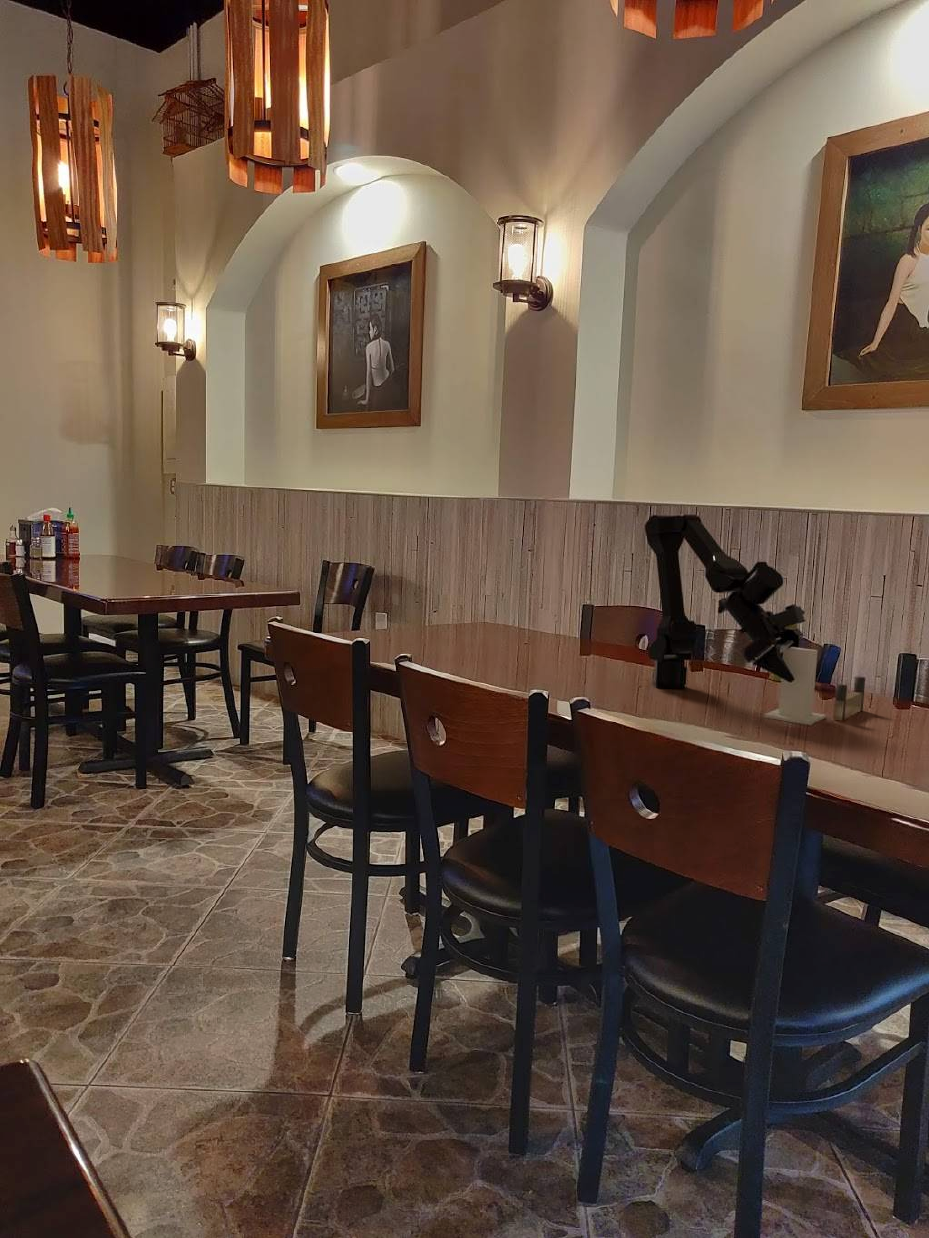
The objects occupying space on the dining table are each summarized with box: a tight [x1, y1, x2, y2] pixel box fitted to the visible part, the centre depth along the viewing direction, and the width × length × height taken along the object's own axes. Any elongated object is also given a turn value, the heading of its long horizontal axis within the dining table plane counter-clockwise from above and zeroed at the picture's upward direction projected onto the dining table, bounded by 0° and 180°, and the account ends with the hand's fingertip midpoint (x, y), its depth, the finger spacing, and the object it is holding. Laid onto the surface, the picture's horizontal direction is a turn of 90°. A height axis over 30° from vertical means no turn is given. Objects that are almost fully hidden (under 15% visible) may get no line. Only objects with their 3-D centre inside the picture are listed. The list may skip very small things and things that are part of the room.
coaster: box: [764, 708, 827, 726], centre depth 185 cm, size 9×9×1 cm
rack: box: [832, 676, 866, 722], centre depth 189 cm, size 2×14×7 cm, turn 141°
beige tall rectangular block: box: [778, 647, 818, 719], centre depth 184 cm, size 5×5×13 cm
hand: (800, 678), depth 184 cm, fingers open, 9 cm apart
